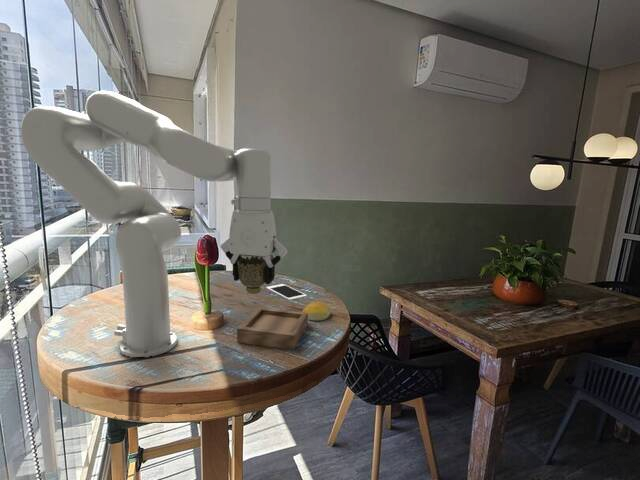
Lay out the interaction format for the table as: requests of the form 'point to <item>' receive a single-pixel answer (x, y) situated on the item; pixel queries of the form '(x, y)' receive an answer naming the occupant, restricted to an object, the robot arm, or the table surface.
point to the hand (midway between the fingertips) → (253, 280)
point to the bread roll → (317, 311)
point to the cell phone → (286, 291)
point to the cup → (252, 273)
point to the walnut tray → (273, 328)
